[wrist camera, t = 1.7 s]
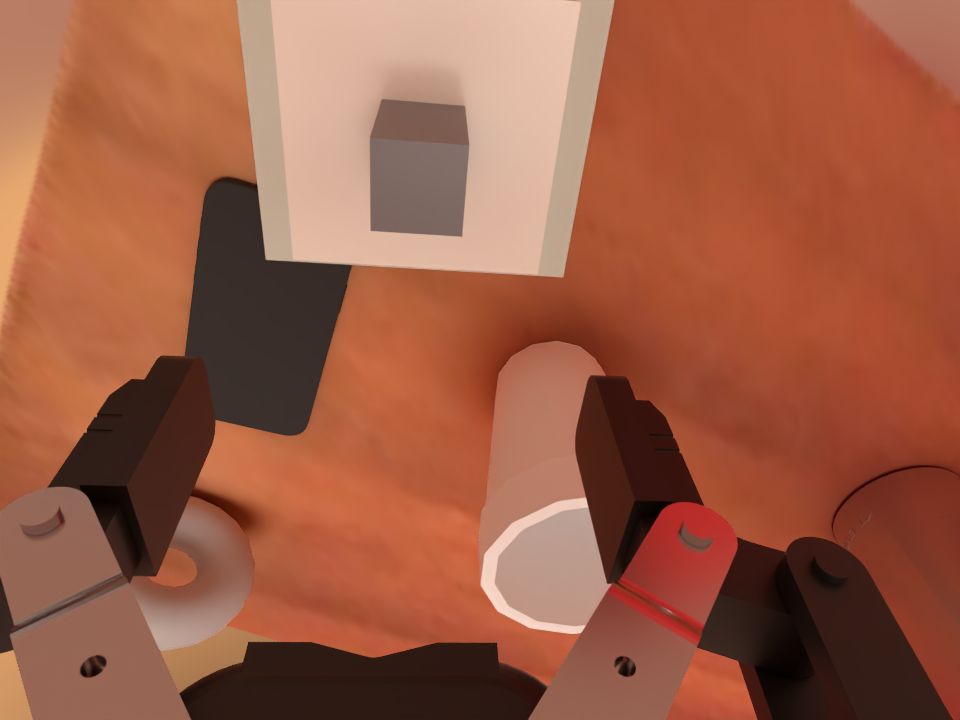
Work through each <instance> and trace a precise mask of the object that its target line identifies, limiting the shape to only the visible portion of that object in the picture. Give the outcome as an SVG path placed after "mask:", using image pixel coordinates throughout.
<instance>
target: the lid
mask: <svg viewBox="0 0 960 720" xmlns="http://www.w3.org/2000/svg"><path fill="white" fill-rule="evenodd" d="M270 1H271V12H272V24H273V35H274V47H275V58H276V70H277V82H278V93H279V105H280V116H281V128H282V139H283V151H284V163H285V174H286V186H287V197H288V209H289V220H290V232H291V243H292V255H293V260H304V261H321V262H338V263H355V264H372V265H389V266H406V267H423V268H440V269H457V270H474V271H491V272H508V273H525V274H538V270H539V264H540V258H541V251H542V245H543V239H544V232H545V226H546V220H547V214H548V207H549V201H550V195H551V189H552V182H553V176H554V170H555V163H556V157H557V151H558V145H559V138H560V132H561V126H562V119H563V113H564V107H565V101H566V94H567V88H568V82H569V76H570V69H571V63H572V57H573V50H574V44H575V38H576V32H577V25H578V19H579V13H580V6H581V1H579V0H270Z"/></svg>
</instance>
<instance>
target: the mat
mask: <svg viewBox="0 0 960 720" xmlns="http://www.w3.org/2000/svg"><path fill="white" fill-rule="evenodd" d="M579 1H581V6H580V13H579V19H578V25H577V32H576V38H575V44H574V50H573V57H572V63H571V69H570V76H569V82H568V88H567V94H566V101H565V107H564V113H563V119H562V126H561V132H560V138H559V145H558V151H557V157H556V163H555V170H554V176H553V182H552V189H551V195H550V201H549V207H548V214H547V220H546V226H545V232H544V239H543V245H542V251H541V258H540V264H539V270H538V274H525V273H508V272H491V271H474V270H457V269H440V268H423V267H406V266H389V265H372V264H355V263H338V262H321V261H304V260H293V255H292V243H291V232H290V220H289V209H288V197H287V186H286V174H285V163H284V151H283V139H282V128H281V116H280V105H279V93H278V82H277V70H276V58H275V47H274V35H273V24H272V12H271V1H270V0H237V9H238V18H239V27H240V36H241V45H242V53H243V62H244V71H245V80H246V89H247V98H248V106H249V115H250V124H251V133H252V142H253V151H254V159H255V168H256V177H257V186H258V195H259V203H260V212H261V221H262V230H263V239H264V248H265V256H266V260H277V261H294V262H311V263H328V264H345V265H362V266H379V267H396V268H414V269H431V270H448V271H465V272H482V273H499V274H516V275H533V276H550V277H563V276H564V270H565V265H566V260H567V254H568V249H569V243H570V238H571V233H572V227H573V222H574V216H575V211H576V206H577V200H578V195H579V189H580V184H581V179H582V173H583V168H584V163H585V157H586V152H587V146H588V141H589V136H590V130H591V125H592V119H593V114H594V109H595V103H596V98H597V92H598V87H599V82H600V76H601V71H602V65H603V60H604V55H605V49H606V44H607V38H608V33H609V28H610V22H611V17H612V12H613V6H614V1H615V0H579Z"/></svg>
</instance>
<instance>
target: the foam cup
mask: <svg viewBox="0 0 960 720" xmlns="http://www.w3.org/2000/svg"><path fill="white" fill-rule="evenodd" d="M591 375H602V376H606V375H605V373H604V371H603V370H602V368H601V366H600V365H599V364H598V363H597V360H596V359H595V358H594V357H593V356H591V355H590V354H589V353H588V352H587V351H585V350H584V349H583V348H582V347H580V346H577V345H573V344H569V343H565V342H561V341H551V342H544V343H537V344H532V345H530V346H528V347H527V348H525V349H523V350H521V351H519V352H518V353H516V354H514V355H512V356H511V357H510V359H509V360H508V361H507V363H506V364H505V365H504V367H503V368H502V369H501V371H500V372H499V374H498V381H497V389H496V398H495V408H494V419H493V430H492V440H491V451H490V462H489V473H488V484H487V495H486V506H485V507H484V508H483V509H482V512H481V520H480V529H479V537H478V549H479V567H480V585H481V587H482V588H483V590H484V591H485V593H486V594H487V596H488V598H489V599H490V601H491V602H492V604H493V605H494V607H495V608H496V610H497V611H498V612H500V613H502V614H504V615H506V616H508V617H510V618H512V619H513V620H515V621H517V622H519V623H521V624H523V625H525V626H527V627H529V628H533V629H540V630H547V631H555V632H562V633H569V634H576V633H582V631H583V629H584V628H585V626H586V624H587V623H588V621H589V620H590V618H591V616H592V615H593V613H594V611H595V610H596V608H597V607H598V605H599V603H600V602H601V600H602V598H603V597H604V595H605V593H606V592H607V590H608V589H609V587H610V586H611V584H607V582H606V578H605V574H604V570H603V565H602V561H601V557H600V553H599V549H598V545H597V541H596V537H595V533H594V528H593V524H592V520H591V516H590V512H589V508H588V504H587V500H586V496H585V491H584V487H583V483H582V479H581V475H580V471H579V467H578V463H577V459H576V453H575V434H576V428H577V423H578V419H579V415H580V410H581V406H582V402H583V398H584V393H585V389H586V385H587V381H588V379H589V377H590V376H591Z"/></svg>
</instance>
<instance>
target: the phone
mask: <svg viewBox="0 0 960 720" xmlns="http://www.w3.org/2000/svg"><path fill="white" fill-rule="evenodd" d="M351 266H352V265H345V264H328V263H311V262H294V261H277V260H266V256H265V248H264V239H263V230H262V221H261V212H260V203H259V195H258V186H257V185H255V184H252V183H249V182H245V181H242V180H239V179H234V178H221V179H218V180H216V181H215V182H214V183H213V184H212V185H211V186H210V187H209V189H208V190H207V192H206V194H205V198H204V204H203V211H202V218H201V224H200V236H199V241H198V249H197V261H196V266H195V274H194V286H193V294H192V302H191V310H190V319H189V327H188V335H187V343H186V352H185V357H200V358H202V359H203V361H204V364H205V367H206V372H207V377H208V383H209V388H210V393H211V398H212V403H213V408H214V413H215V420H219V421H223V422H228V423H232V424H237V425H241V426H246V427H250V428H254V429H259V430H263V431H268V432H272V433H277V434H282V435H290V436H291V435H297V434H300V433H302V432H303V431H304V430H305V429H306V427H307V424H308V421H309V418H310V414H311V411H312V407H313V403H314V400H315V396H316V392H317V389H318V385H319V382H320V378H321V374H322V371H323V367H324V364H325V360H326V356H327V353H328V349H329V346H330V342H331V338H332V335H333V331H334V327H335V324H336V320H337V317H338V314H339V313H340V309H341V306H342V302H343V298H344V295H345V291H346V288H347V286H346V284H347V280H348V277H349V273H350V270H351Z"/></svg>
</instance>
